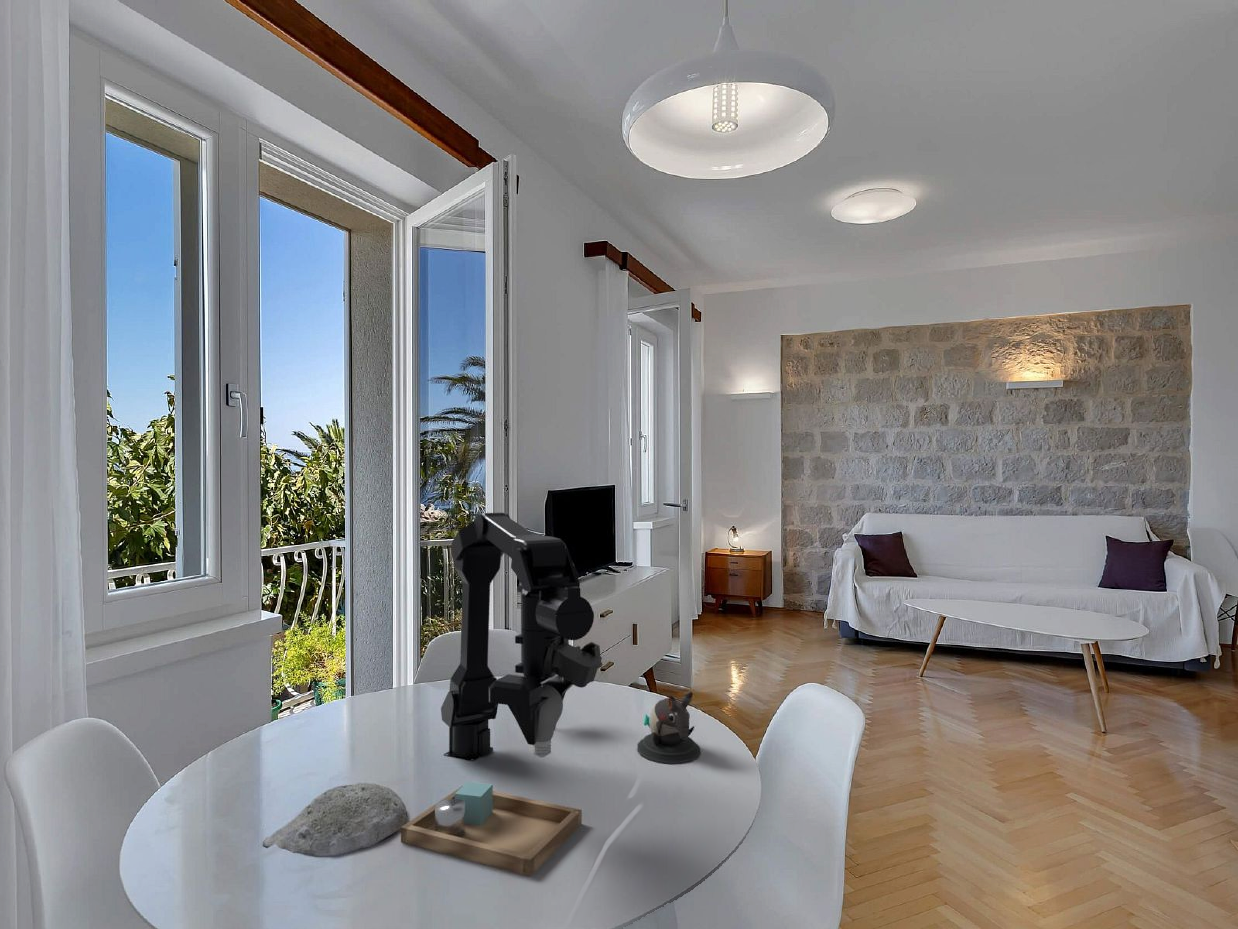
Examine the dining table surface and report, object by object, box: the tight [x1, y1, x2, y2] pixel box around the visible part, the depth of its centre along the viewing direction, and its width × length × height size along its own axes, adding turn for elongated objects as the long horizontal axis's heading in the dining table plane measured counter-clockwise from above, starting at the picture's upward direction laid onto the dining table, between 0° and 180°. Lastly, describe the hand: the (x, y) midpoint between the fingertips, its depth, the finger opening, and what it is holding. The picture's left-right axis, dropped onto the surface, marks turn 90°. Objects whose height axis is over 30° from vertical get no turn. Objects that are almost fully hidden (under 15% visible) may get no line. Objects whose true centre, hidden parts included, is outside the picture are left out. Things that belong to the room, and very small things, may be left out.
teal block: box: [455, 781, 494, 825], centre depth 100 cm, size 4×4×4 cm
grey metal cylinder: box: [435, 799, 465, 838], centre depth 95 cm, size 4×4×4 cm
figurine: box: [636, 691, 702, 765], centre depth 125 cm, size 11×12×12 cm
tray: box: [400, 786, 583, 877], centre depth 95 cm, size 20×14×2 cm
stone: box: [262, 782, 410, 857], centre depth 98 cm, size 18×8×15 cm
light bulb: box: [532, 684, 564, 758], centre depth 99 cm, size 6×6×10 cm
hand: (541, 737), depth 99 cm, fingers closed on light bulb, 5 cm apart
